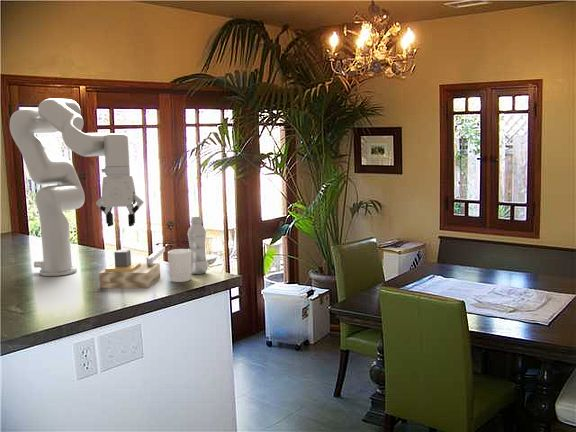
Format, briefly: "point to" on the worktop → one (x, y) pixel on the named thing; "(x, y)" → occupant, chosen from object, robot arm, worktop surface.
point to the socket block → (131, 277)
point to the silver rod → (155, 256)
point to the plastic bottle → (197, 246)
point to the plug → (122, 262)
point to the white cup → (180, 265)
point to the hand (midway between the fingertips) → (120, 225)
